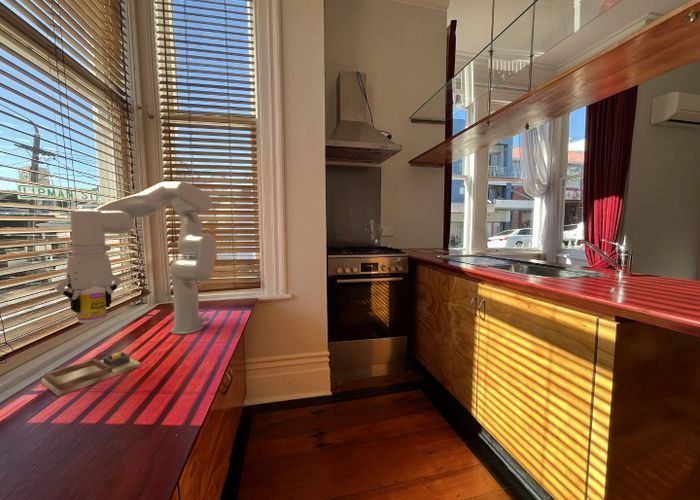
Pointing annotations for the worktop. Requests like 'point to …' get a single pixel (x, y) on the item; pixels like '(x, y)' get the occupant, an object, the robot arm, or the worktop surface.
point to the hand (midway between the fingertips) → (92, 308)
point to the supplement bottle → (92, 304)
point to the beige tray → (87, 373)
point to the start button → (116, 355)
